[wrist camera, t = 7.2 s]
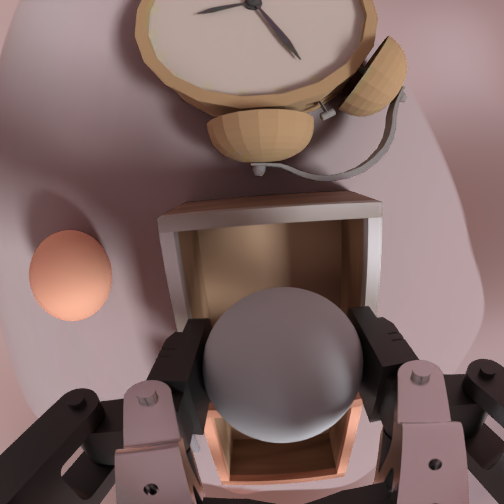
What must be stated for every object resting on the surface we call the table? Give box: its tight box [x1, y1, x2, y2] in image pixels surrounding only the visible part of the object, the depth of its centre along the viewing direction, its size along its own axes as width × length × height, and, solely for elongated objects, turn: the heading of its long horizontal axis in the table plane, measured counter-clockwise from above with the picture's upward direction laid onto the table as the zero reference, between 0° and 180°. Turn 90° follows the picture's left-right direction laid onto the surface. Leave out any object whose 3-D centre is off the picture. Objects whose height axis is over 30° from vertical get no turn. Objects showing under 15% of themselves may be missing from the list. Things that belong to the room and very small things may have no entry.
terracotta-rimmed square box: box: [204, 391, 363, 485], centre depth 17 cm, size 9×9×5 cm
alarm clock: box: [135, 0, 407, 182], centre depth 12 cm, size 11×5×15 cm
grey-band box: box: [157, 191, 382, 332], centre depth 14 cm, size 9×9×5 cm
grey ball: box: [202, 287, 364, 443], centre depth 9 cm, size 5×5×5 cm
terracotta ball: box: [29, 230, 112, 321], centre depth 14 cm, size 5×5×5 cm
